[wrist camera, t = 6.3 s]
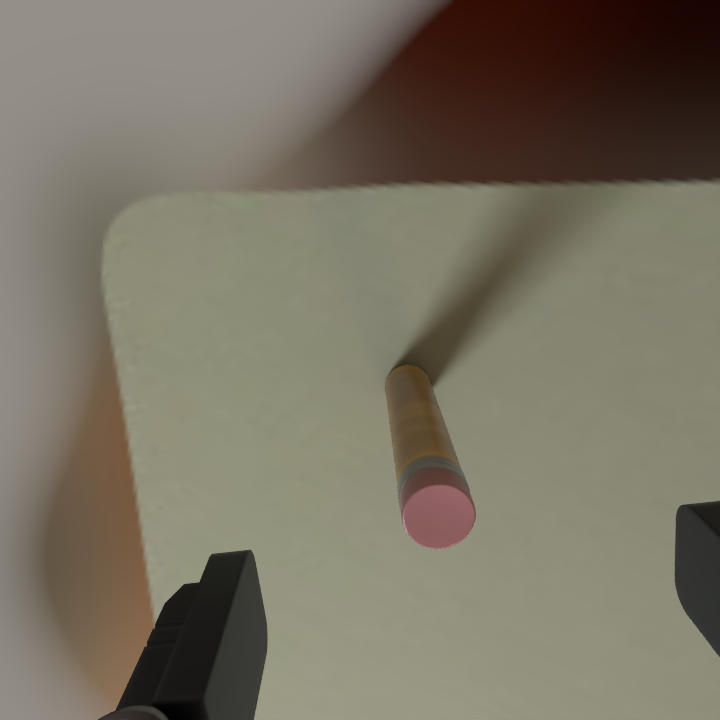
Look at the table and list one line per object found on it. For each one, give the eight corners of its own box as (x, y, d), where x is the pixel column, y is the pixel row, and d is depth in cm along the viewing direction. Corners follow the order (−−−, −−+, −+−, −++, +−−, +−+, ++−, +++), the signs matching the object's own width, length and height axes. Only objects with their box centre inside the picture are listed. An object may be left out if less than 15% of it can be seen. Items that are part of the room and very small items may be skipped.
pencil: (389, 360, 22) (409, 477, 13) (434, 367, 22) (484, 489, 13) (380, 403, 22) (394, 544, 14) (425, 410, 22) (467, 555, 14)
